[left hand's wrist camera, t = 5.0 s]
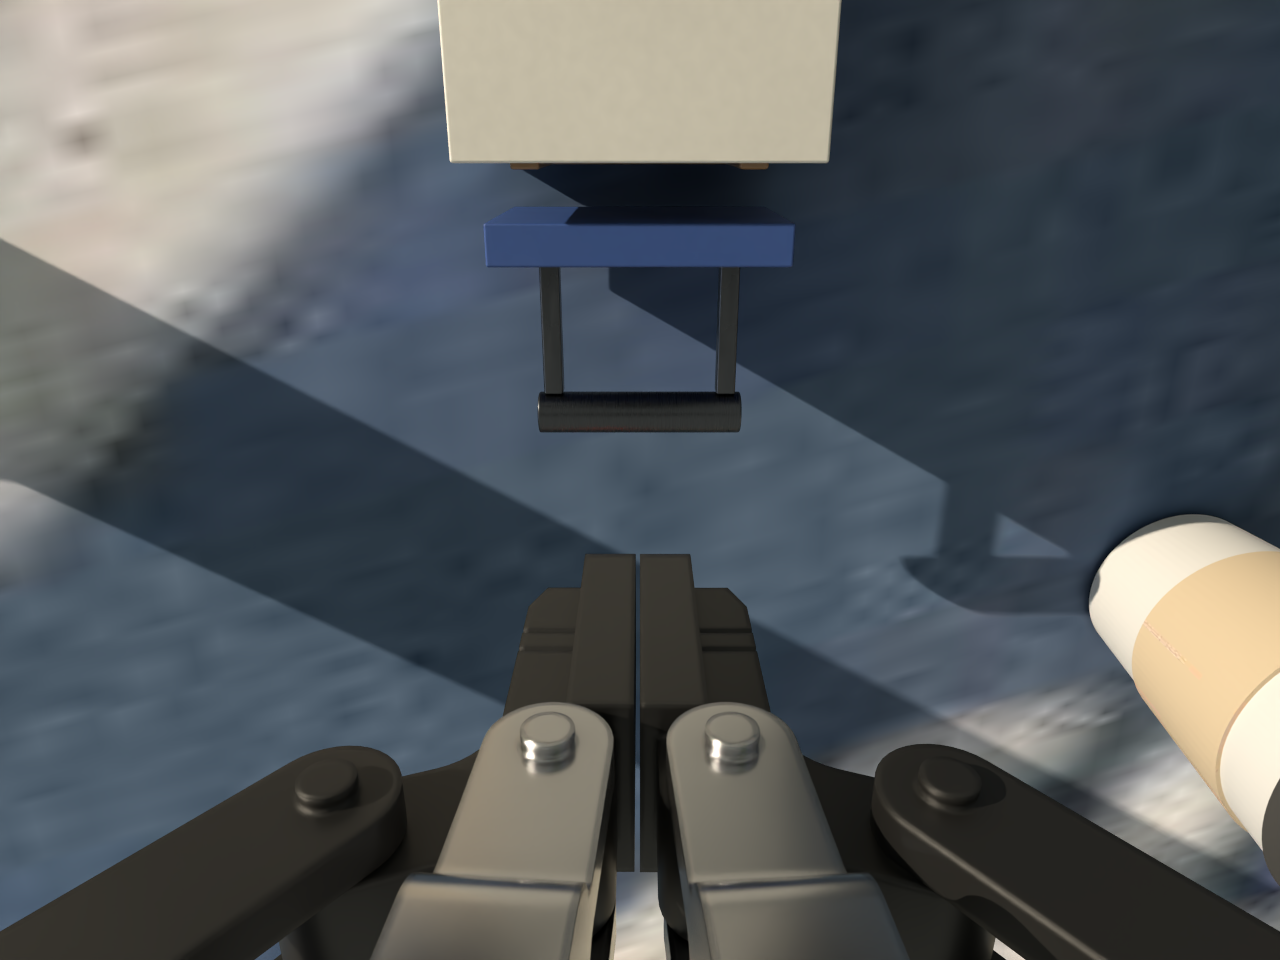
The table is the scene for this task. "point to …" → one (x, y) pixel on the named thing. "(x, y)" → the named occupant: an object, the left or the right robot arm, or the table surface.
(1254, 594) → the coffee cup
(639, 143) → the cream box
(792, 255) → the drawer
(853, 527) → the table surface
